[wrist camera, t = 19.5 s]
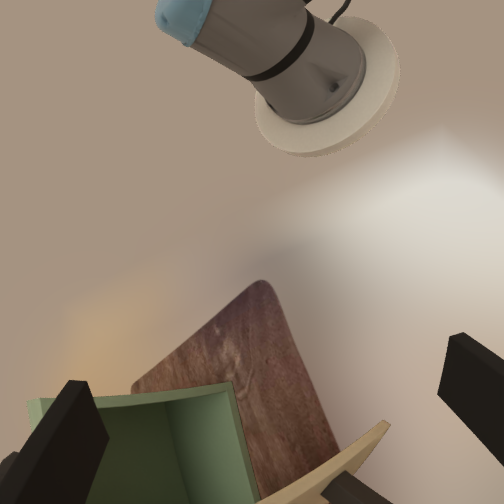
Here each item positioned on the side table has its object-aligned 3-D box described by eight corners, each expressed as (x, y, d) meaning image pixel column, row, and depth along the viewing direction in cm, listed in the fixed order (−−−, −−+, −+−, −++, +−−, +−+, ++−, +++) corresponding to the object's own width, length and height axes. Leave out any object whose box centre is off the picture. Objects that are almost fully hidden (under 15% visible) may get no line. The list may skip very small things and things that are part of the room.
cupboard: (231, 381, 40) (39, 398, 22) (274, 546, 29) (116, 613, 12) (165, 393, 50) (26, 400, 33) (199, 525, 40) (72, 558, 23)
